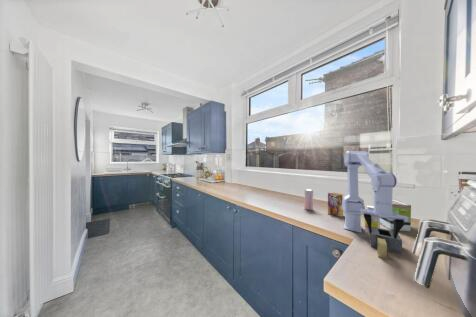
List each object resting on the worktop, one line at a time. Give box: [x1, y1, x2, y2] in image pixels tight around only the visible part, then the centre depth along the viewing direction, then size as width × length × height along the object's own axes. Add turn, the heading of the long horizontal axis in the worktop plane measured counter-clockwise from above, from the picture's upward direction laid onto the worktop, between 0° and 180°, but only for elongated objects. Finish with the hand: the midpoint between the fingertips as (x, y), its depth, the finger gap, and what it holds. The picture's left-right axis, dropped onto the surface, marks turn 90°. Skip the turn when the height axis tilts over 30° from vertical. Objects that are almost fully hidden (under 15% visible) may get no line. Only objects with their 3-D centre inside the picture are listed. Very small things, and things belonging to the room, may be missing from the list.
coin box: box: [368, 227, 403, 255], centre depth 76 cm, size 10×10×6 cm
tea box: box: [380, 198, 412, 232], centre depth 99 cm, size 15×10×15 cm, turn 168°
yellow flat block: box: [376, 238, 388, 260], centre depth 69 cm, size 5×2×6 cm, turn 145°
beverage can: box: [304, 188, 314, 211], centre depth 128 cm, size 6×6×15 cm
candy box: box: [327, 191, 344, 218], centre depth 116 cm, size 9×4×15 cm, turn 47°
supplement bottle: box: [364, 205, 381, 231], centre depth 93 cm, size 7×7×13 cm
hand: (382, 234), depth 69 cm, fingers open, 7 cm apart
